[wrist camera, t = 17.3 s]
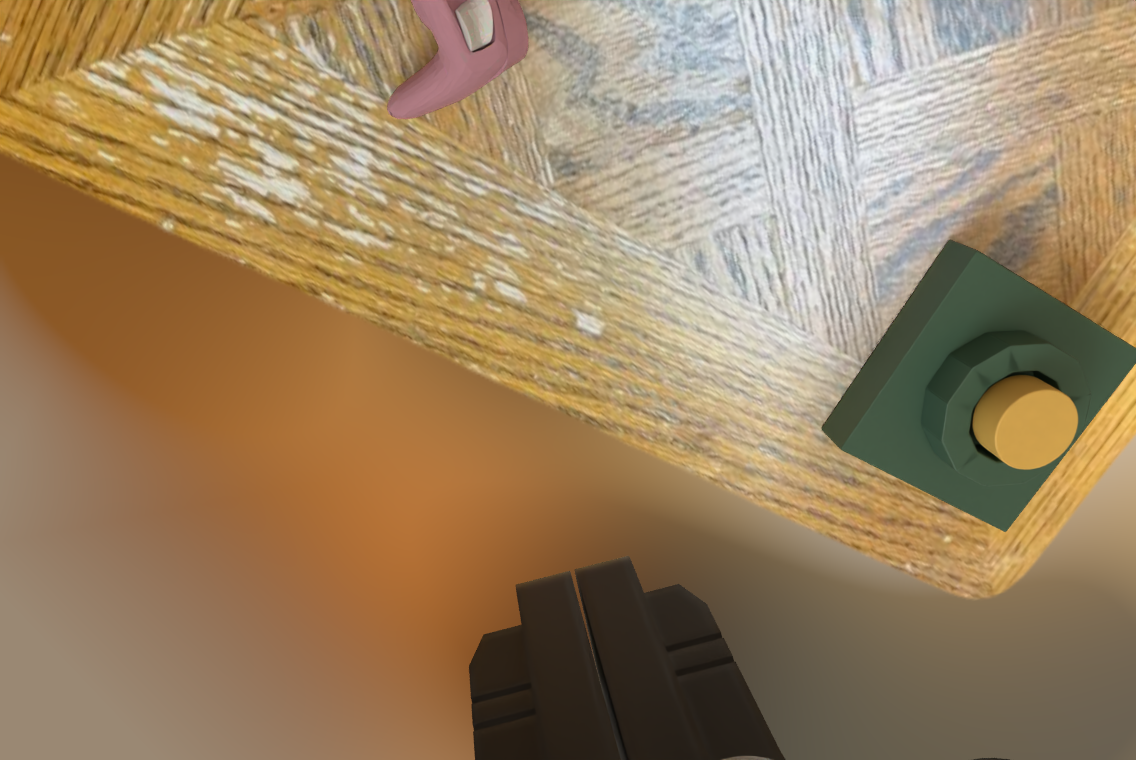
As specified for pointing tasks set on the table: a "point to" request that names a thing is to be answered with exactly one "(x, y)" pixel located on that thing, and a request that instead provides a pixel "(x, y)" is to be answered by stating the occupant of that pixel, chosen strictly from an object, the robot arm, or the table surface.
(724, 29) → the table surface
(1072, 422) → the bell button
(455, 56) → the video game controller
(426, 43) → the table surface
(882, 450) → the green button base
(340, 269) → the table surface
